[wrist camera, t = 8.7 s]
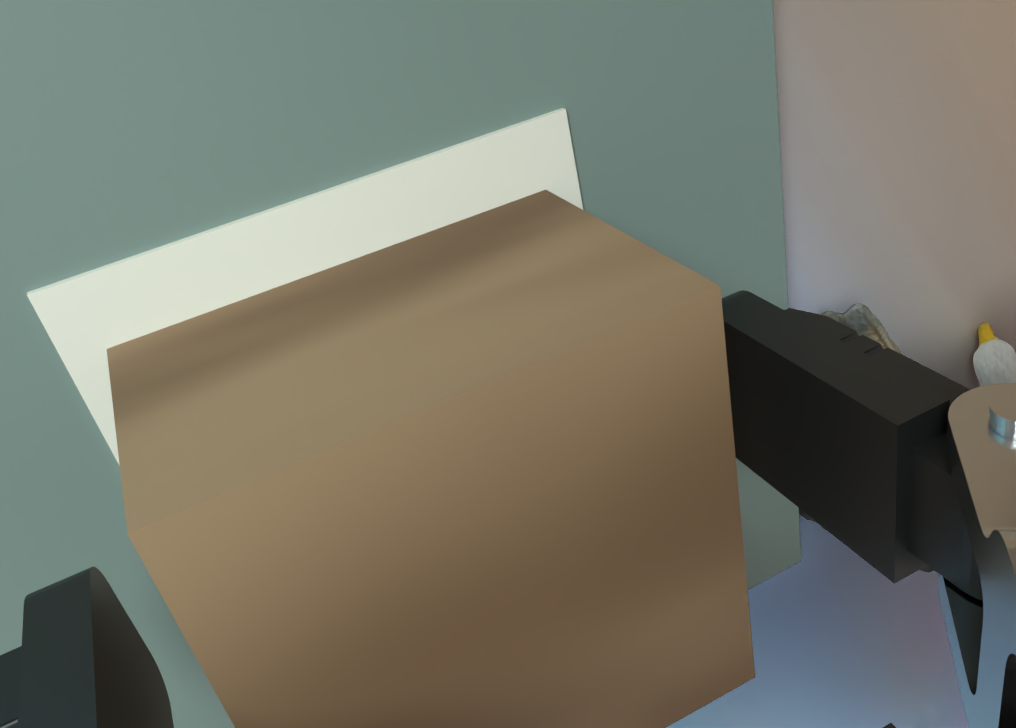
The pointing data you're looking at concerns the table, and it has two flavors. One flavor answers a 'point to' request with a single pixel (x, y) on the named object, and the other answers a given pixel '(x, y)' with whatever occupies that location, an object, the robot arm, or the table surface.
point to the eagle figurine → (989, 360)
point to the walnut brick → (449, 484)
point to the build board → (330, 203)
